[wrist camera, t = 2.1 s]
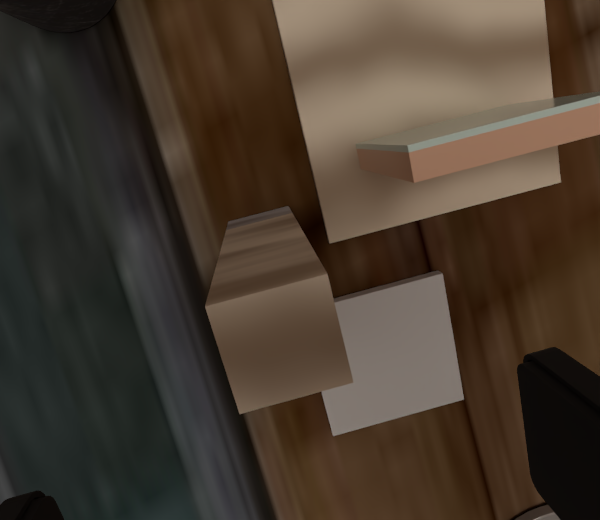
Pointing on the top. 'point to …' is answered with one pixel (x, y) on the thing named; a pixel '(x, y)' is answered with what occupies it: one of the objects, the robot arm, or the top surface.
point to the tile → (481, 137)
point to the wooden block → (274, 313)
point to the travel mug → (58, 13)
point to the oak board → (410, 97)
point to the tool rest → (395, 353)
